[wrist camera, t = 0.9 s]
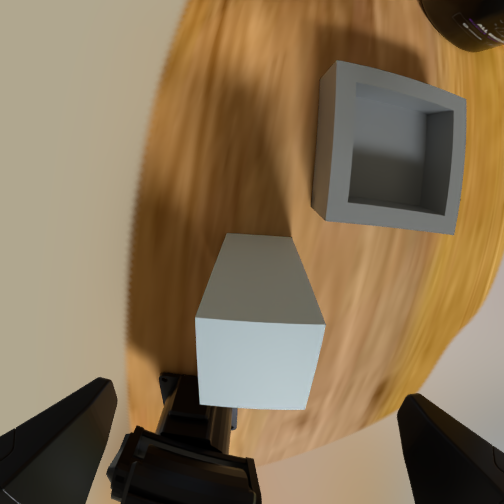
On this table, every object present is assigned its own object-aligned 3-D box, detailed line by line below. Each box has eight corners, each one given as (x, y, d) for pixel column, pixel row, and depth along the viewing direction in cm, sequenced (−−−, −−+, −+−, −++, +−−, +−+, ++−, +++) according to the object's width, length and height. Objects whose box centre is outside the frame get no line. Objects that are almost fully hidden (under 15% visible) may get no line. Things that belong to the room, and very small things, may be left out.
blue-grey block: (285, 295, 19) (305, 409, 10) (224, 291, 19) (199, 404, 10) (291, 237, 18) (325, 324, 9) (226, 232, 18) (195, 317, 9)
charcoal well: (421, 219, 18) (453, 235, 14) (310, 206, 18) (325, 221, 14) (431, 106, 15) (466, 99, 11) (319, 79, 15) (336, 59, 11)
